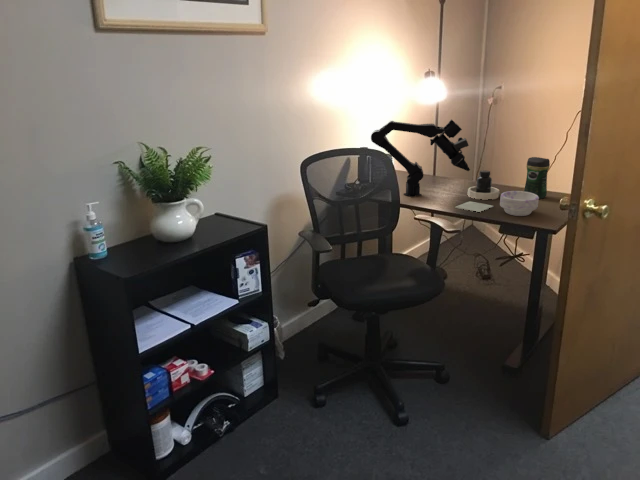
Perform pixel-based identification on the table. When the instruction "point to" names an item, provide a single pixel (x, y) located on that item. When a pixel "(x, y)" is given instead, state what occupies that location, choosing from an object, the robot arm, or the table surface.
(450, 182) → the table surface
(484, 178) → the supplement bottle
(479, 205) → the mat
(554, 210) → the table surface
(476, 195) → the ring holder
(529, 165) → the coffee jar
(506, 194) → the paper bowls
